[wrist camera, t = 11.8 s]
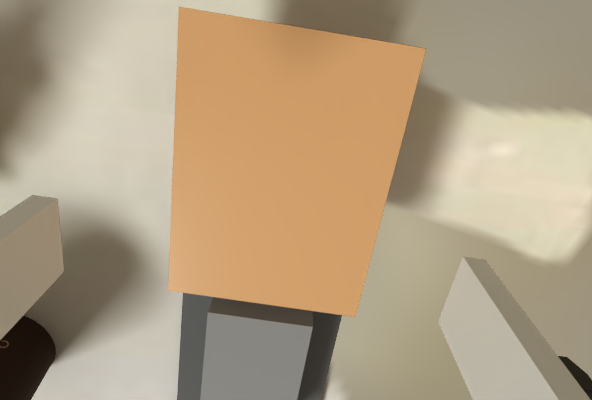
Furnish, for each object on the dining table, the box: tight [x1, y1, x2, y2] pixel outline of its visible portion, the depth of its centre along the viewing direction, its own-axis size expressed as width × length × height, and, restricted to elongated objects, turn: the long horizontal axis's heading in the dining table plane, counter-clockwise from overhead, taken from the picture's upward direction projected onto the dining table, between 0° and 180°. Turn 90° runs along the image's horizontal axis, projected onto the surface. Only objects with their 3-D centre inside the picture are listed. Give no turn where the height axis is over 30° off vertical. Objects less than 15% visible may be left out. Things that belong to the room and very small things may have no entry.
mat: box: [177, 293, 342, 400], centre depth 31 cm, size 22×12×4 cm, turn 171°
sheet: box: [168, 7, 426, 317], centre depth 22 cm, size 15×11×1 cm
